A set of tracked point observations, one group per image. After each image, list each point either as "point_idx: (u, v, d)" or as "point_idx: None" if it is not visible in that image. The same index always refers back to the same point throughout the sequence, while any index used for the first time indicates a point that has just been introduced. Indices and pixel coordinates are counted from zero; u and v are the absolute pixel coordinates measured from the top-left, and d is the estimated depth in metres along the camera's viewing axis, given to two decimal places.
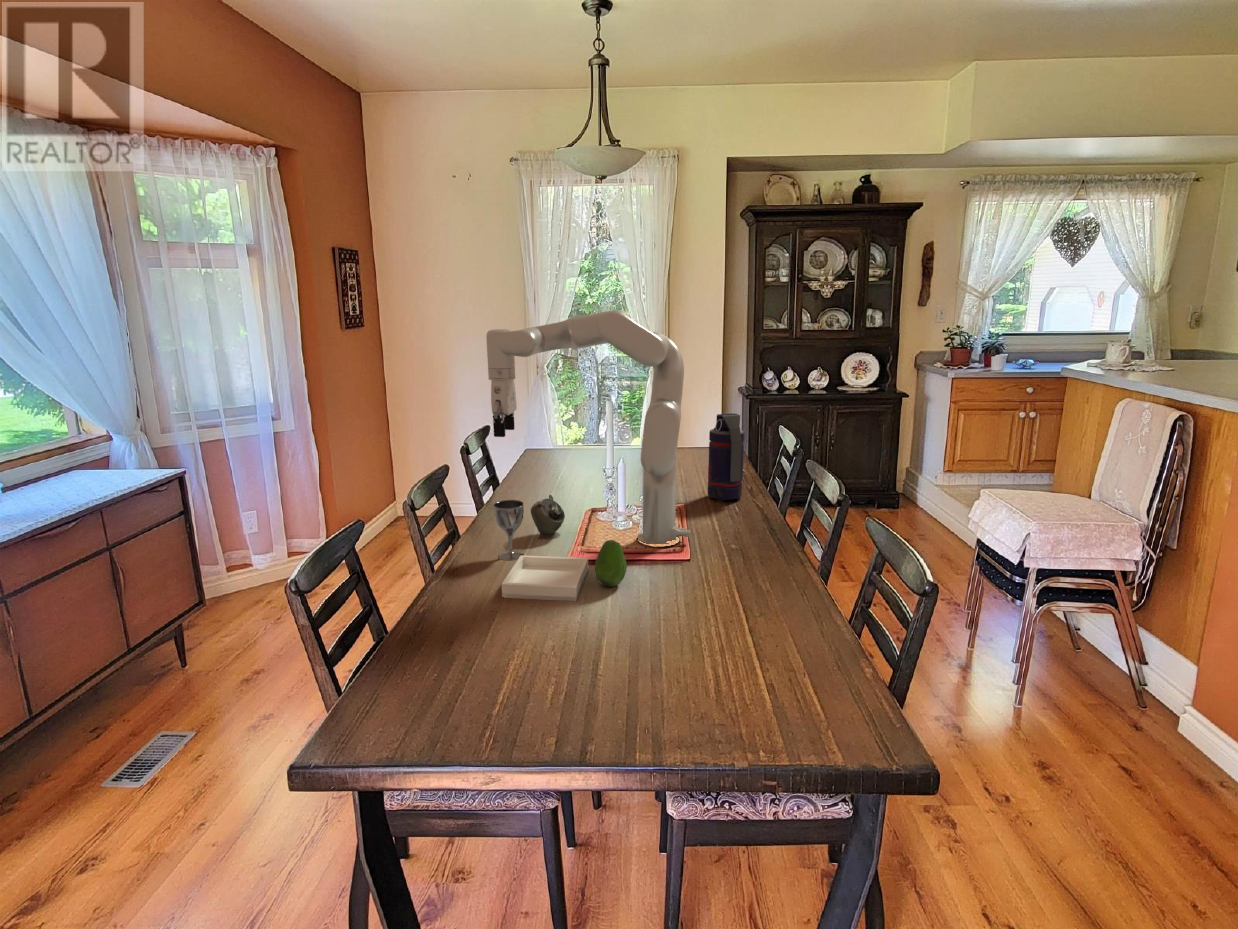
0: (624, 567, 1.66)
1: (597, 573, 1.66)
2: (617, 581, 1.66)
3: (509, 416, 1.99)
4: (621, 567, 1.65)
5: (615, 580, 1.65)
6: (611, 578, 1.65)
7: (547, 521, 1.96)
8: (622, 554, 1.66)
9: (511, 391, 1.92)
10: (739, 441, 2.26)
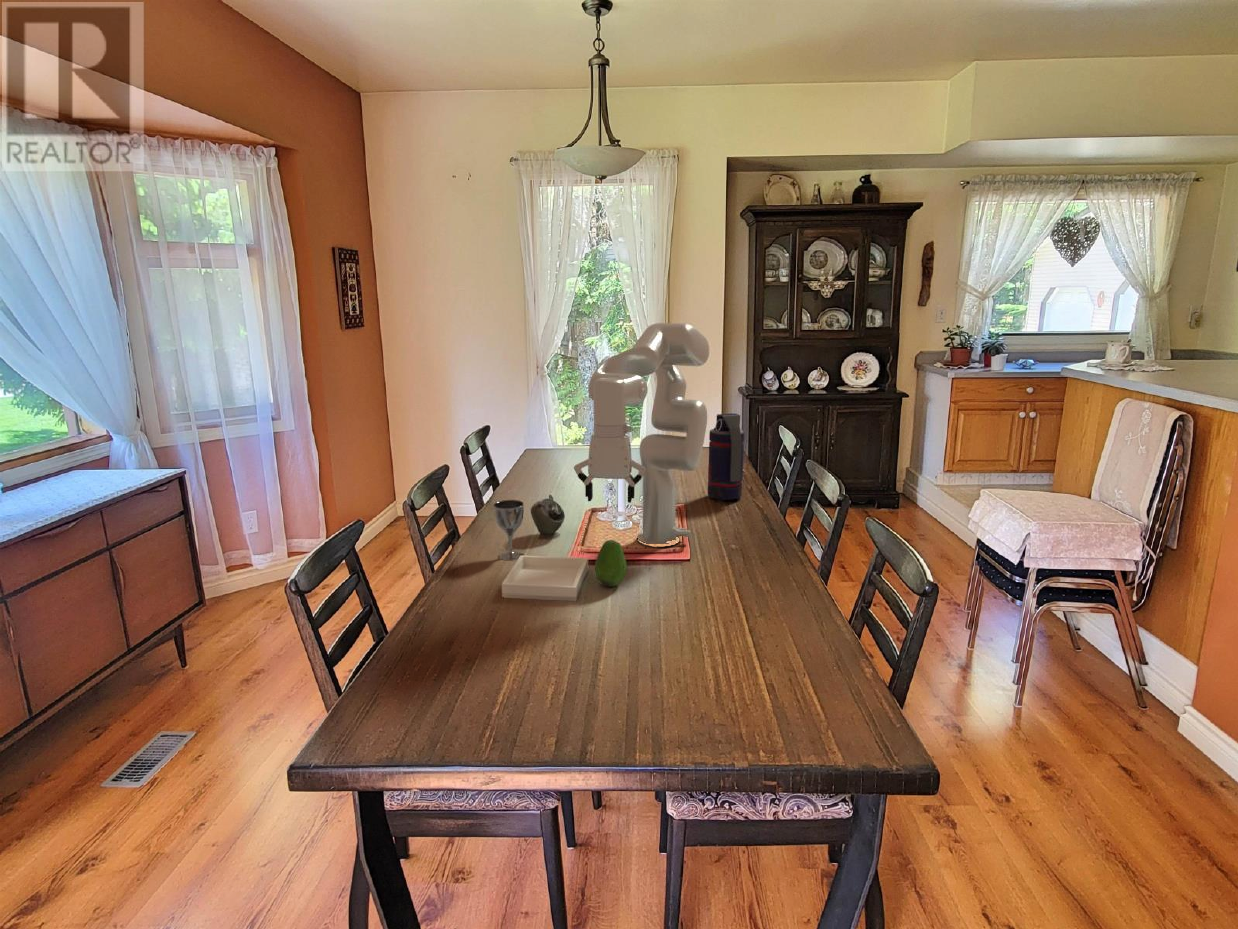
0: (624, 567, 1.66)
1: (597, 573, 1.66)
2: (617, 581, 1.66)
3: (591, 483, 1.63)
4: (621, 567, 1.65)
5: (615, 580, 1.65)
6: (611, 578, 1.65)
7: (547, 521, 1.96)
8: (622, 554, 1.66)
9: None
10: (739, 441, 2.26)
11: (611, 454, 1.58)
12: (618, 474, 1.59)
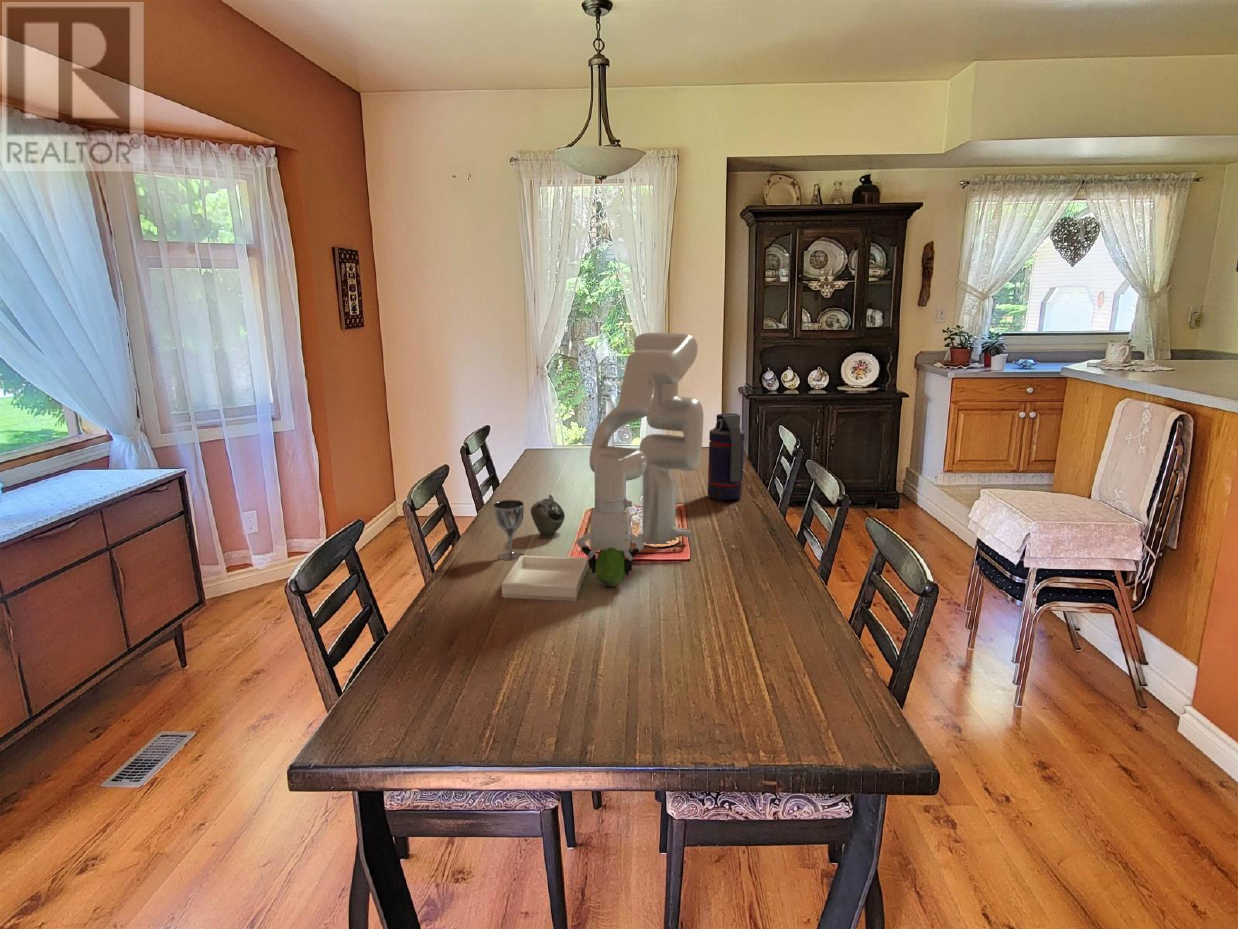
0: (624, 567, 1.66)
1: (597, 573, 1.66)
2: (617, 581, 1.66)
3: (594, 556, 1.68)
4: (621, 567, 1.65)
5: (615, 580, 1.65)
6: (611, 579, 1.65)
7: (547, 521, 1.96)
8: (622, 554, 1.66)
9: None
10: (739, 441, 2.26)
11: (612, 528, 1.63)
12: (619, 547, 1.64)
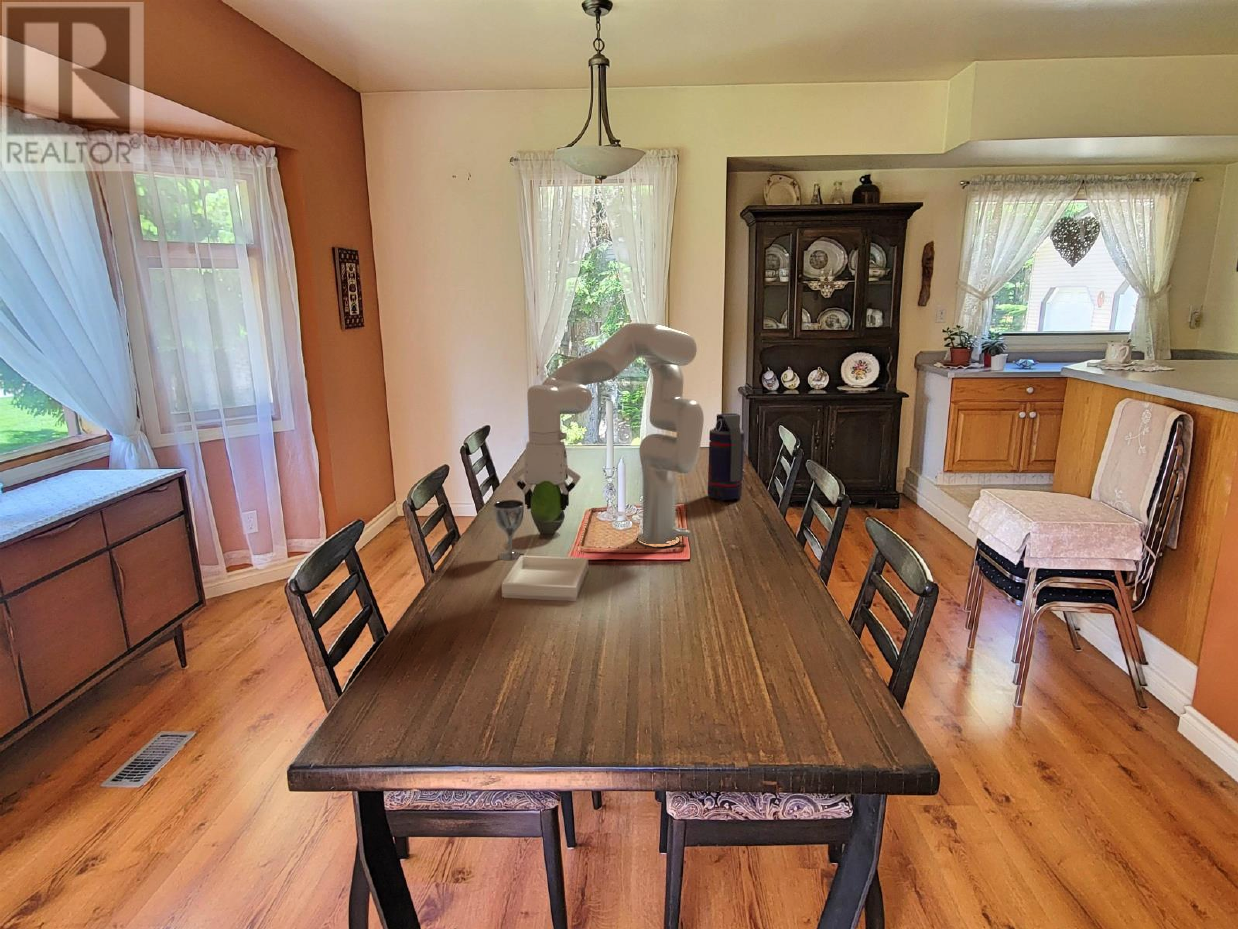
0: (560, 502, 1.63)
1: (532, 508, 1.62)
2: (553, 516, 1.62)
3: (530, 491, 1.65)
4: (556, 501, 1.61)
5: (551, 514, 1.62)
6: (546, 513, 1.61)
7: None
8: (558, 488, 1.62)
9: None
10: (739, 441, 2.26)
11: (546, 461, 1.59)
12: (553, 481, 1.61)
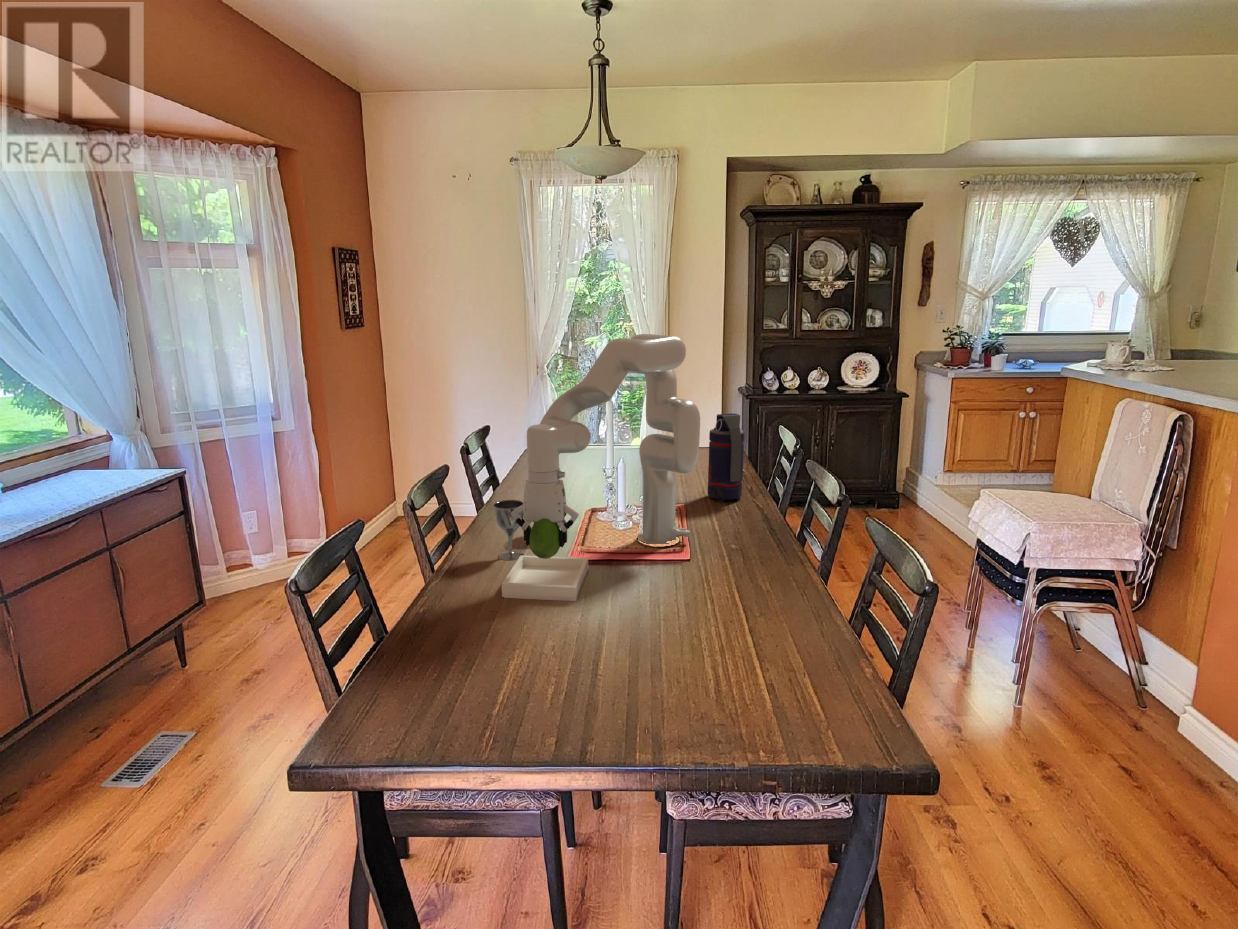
0: (558, 539, 1.65)
1: (531, 545, 1.65)
2: (551, 553, 1.65)
3: (529, 527, 1.67)
4: (555, 538, 1.64)
5: (549, 551, 1.64)
6: (545, 550, 1.64)
7: None
8: (556, 526, 1.65)
9: None
10: (739, 441, 2.26)
11: (545, 499, 1.62)
12: (552, 518, 1.63)
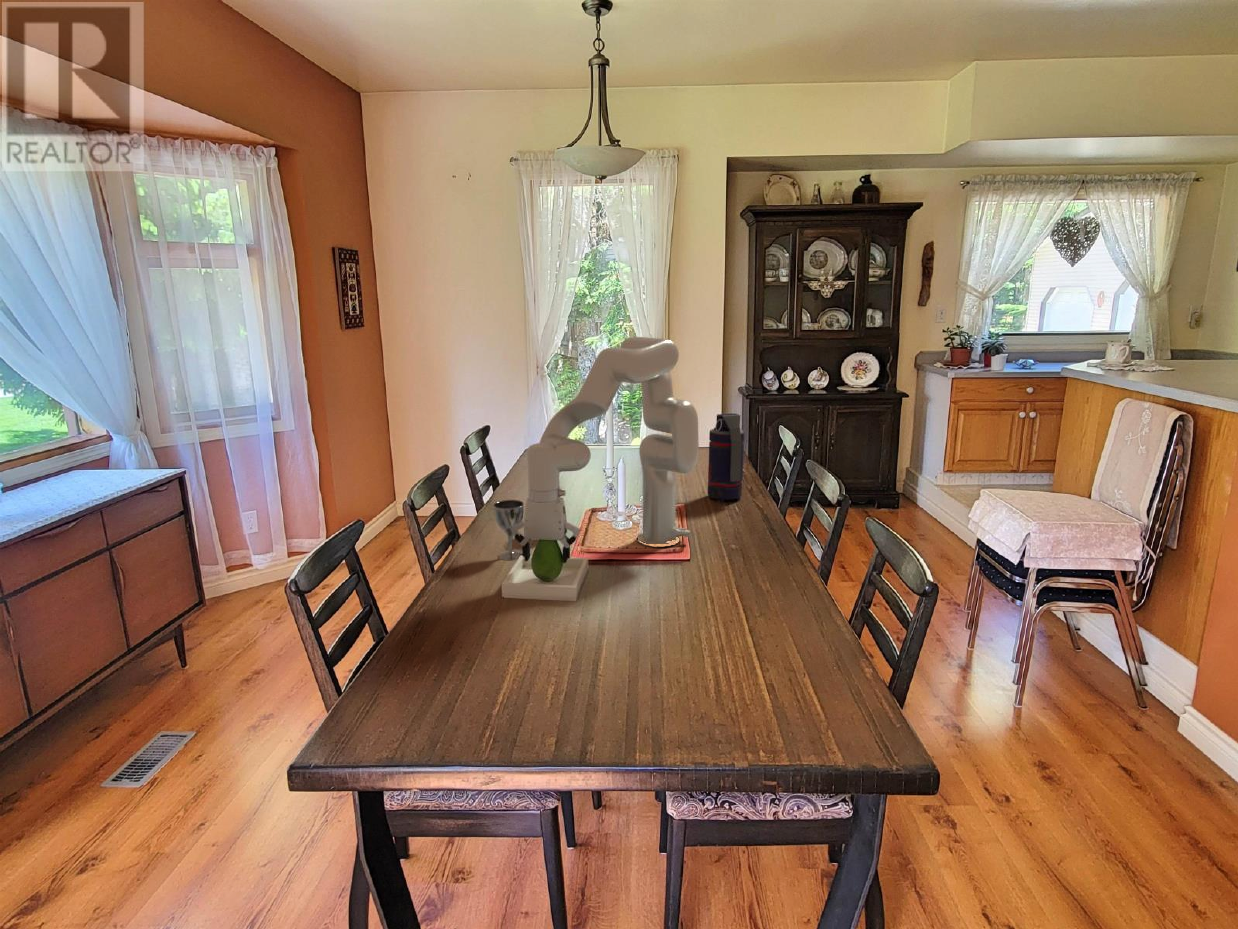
0: (560, 562, 1.67)
1: (533, 568, 1.66)
2: (553, 576, 1.66)
3: (528, 543, 1.68)
4: (556, 561, 1.65)
5: (551, 574, 1.66)
6: (547, 573, 1.65)
7: None
8: (558, 549, 1.66)
9: None
10: (739, 441, 2.26)
11: (545, 517, 1.63)
12: (553, 536, 1.64)
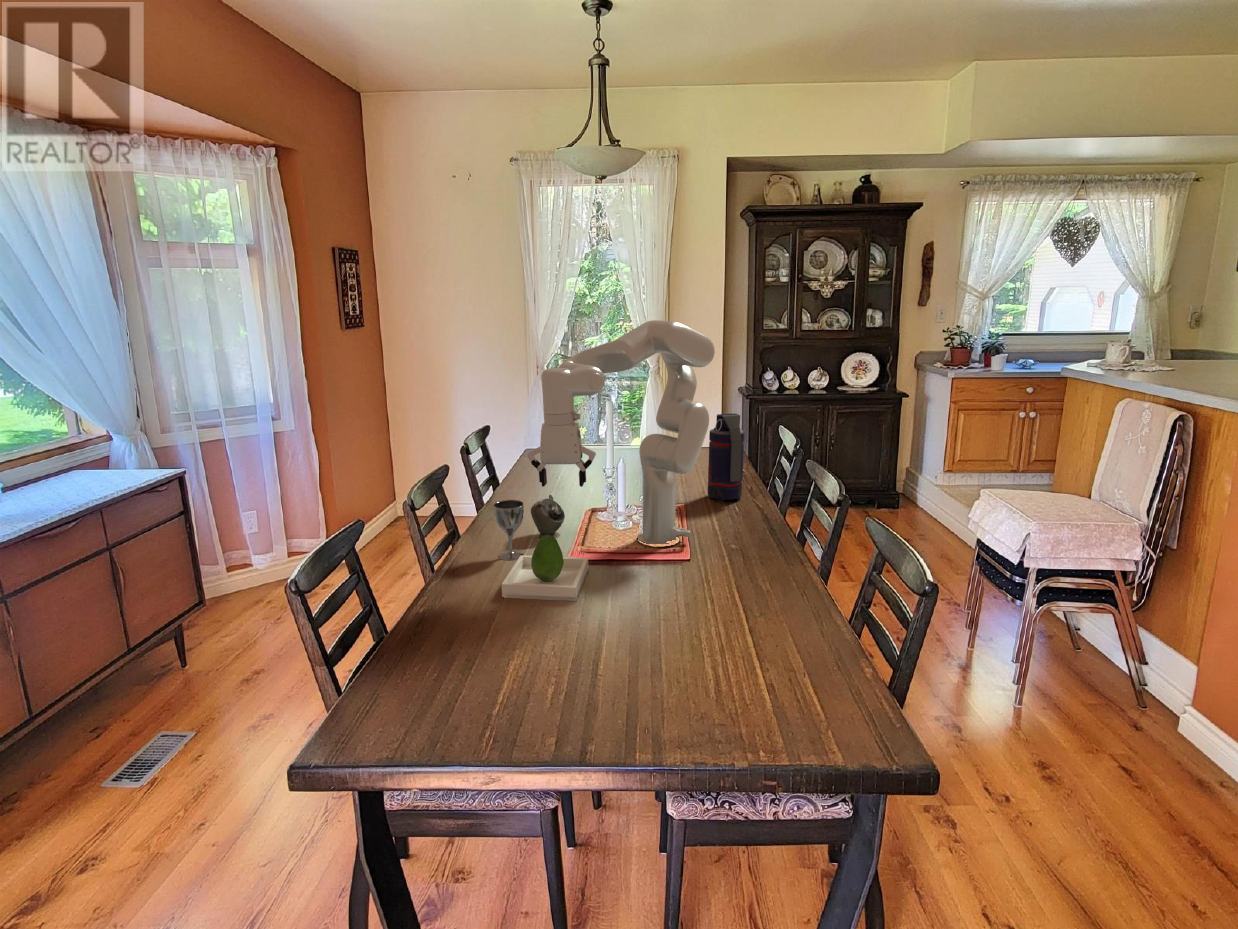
0: (560, 562, 1.67)
1: (533, 568, 1.66)
2: (553, 576, 1.66)
3: (544, 469, 1.71)
4: (556, 561, 1.65)
5: (551, 574, 1.66)
6: (547, 573, 1.65)
7: (547, 521, 1.96)
8: (558, 549, 1.66)
9: None
10: (739, 441, 2.26)
11: (561, 441, 1.66)
12: (569, 460, 1.67)
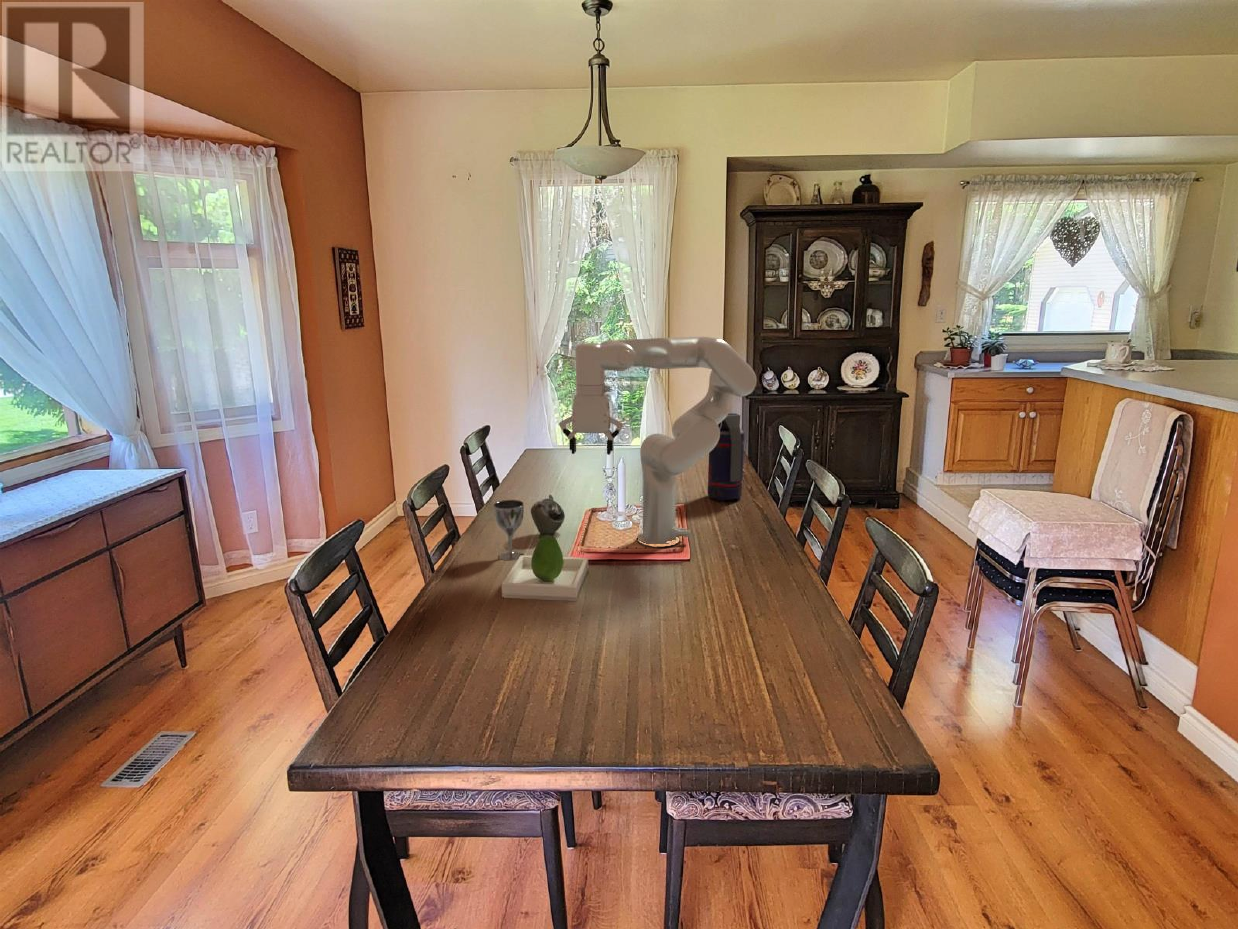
0: (560, 562, 1.67)
1: (533, 568, 1.66)
2: (553, 576, 1.66)
3: (574, 438, 1.84)
4: (556, 561, 1.65)
5: (551, 574, 1.66)
6: (547, 573, 1.65)
7: (547, 521, 1.96)
8: (558, 549, 1.66)
9: None
10: (739, 441, 2.26)
11: (592, 411, 1.78)
12: (598, 429, 1.80)
